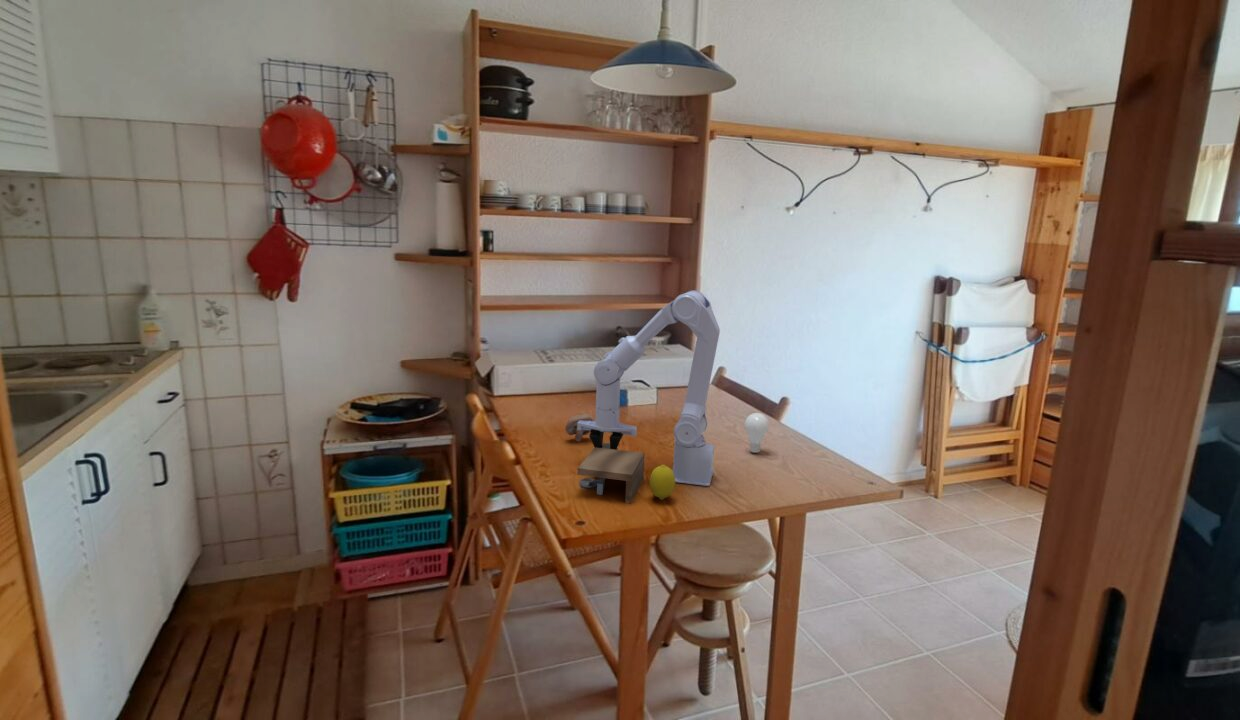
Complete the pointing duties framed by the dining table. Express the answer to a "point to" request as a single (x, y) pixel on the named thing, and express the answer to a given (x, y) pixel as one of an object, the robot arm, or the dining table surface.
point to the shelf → (615, 467)
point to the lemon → (662, 481)
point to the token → (588, 483)
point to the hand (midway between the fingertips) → (605, 460)
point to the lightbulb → (756, 430)
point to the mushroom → (572, 425)
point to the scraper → (602, 480)
